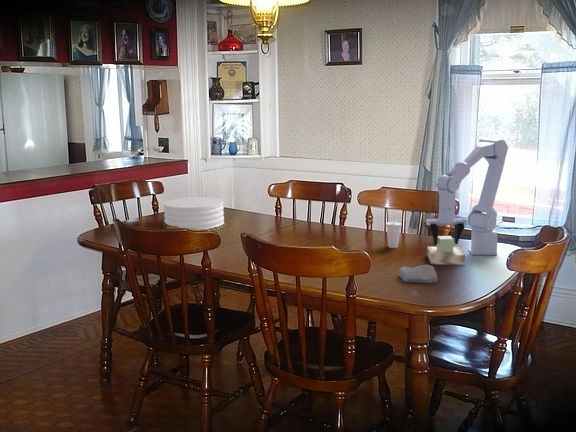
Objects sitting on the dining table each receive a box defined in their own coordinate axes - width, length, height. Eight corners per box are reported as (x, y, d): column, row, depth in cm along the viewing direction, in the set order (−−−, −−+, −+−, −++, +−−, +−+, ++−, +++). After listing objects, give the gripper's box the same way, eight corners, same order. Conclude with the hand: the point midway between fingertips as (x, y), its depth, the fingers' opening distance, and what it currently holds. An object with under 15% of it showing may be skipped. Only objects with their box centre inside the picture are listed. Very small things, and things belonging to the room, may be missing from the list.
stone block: (439, 288, 217) (431, 273, 226) (440, 275, 215) (432, 261, 224) (404, 290, 216) (398, 276, 225) (404, 277, 214) (398, 263, 223)
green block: (450, 248, 245) (450, 235, 244) (453, 252, 240) (453, 239, 239) (436, 249, 245) (437, 236, 244) (439, 252, 240) (440, 239, 239)
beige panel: (459, 256, 248) (459, 246, 248) (464, 265, 237) (464, 255, 236) (427, 256, 250) (427, 246, 249) (430, 265, 238) (431, 254, 237)
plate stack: (171, 219, 324) (170, 197, 322) (227, 219, 323) (226, 196, 320) (158, 232, 297) (157, 207, 294) (219, 232, 295) (218, 207, 293)
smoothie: (389, 249, 259) (389, 215, 257) (382, 245, 265) (383, 212, 263) (403, 248, 261) (404, 213, 258) (397, 244, 267) (397, 210, 264)
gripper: (463, 205, 243) (462, 240, 246) (424, 206, 243) (424, 241, 246) (469, 209, 236) (467, 245, 239) (429, 209, 236) (428, 246, 239)
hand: (445, 243), depth 242 cm, fingers open, 7 cm apart
